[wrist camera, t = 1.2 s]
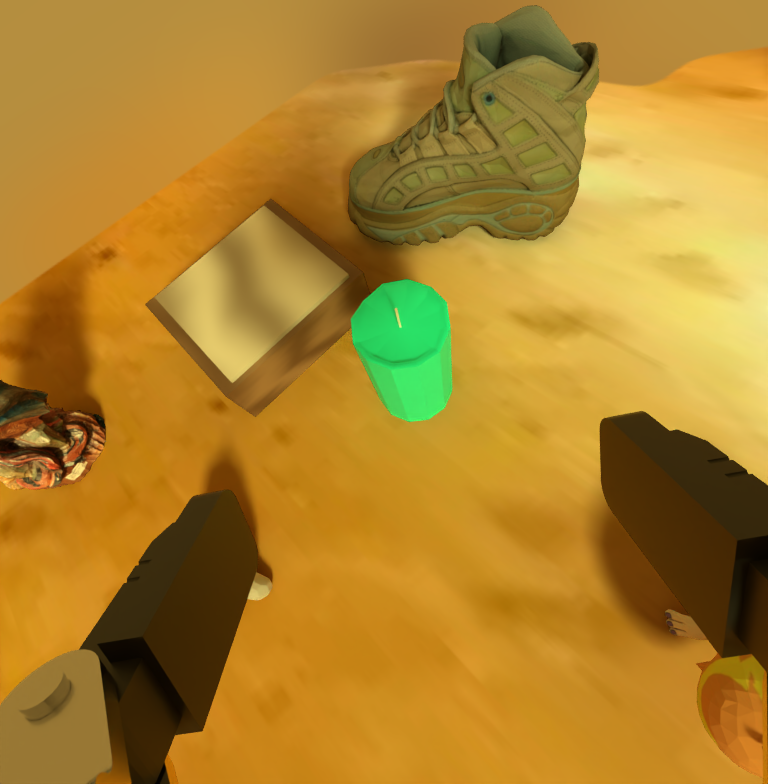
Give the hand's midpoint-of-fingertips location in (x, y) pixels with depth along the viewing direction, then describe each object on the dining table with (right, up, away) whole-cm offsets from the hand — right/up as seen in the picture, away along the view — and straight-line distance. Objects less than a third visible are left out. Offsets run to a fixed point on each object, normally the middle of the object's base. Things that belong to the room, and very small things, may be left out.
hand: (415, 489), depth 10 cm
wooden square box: (-11, +9, +30) cm, 33 cm away
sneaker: (+6, +19, +31) cm, 37 cm away
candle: (+2, +2, +26) cm, 26 cm away
